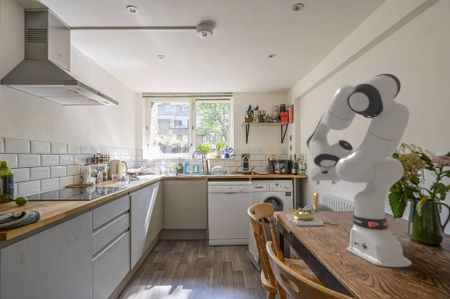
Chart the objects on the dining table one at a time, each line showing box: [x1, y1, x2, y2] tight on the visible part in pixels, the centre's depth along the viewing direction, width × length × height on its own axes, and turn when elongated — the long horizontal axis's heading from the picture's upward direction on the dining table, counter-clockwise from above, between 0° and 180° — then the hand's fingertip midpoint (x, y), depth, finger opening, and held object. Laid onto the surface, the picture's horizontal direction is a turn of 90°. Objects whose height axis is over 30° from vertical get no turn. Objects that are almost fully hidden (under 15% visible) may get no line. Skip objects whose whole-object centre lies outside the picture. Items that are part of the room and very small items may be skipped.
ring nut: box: [292, 192, 320, 220], centre depth 144 cm, size 12×15×14 cm
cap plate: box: [285, 213, 324, 227], centre depth 144 cm, size 20×15×2 cm
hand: (325, 183), depth 133 cm, fingers open, 8 cm apart
